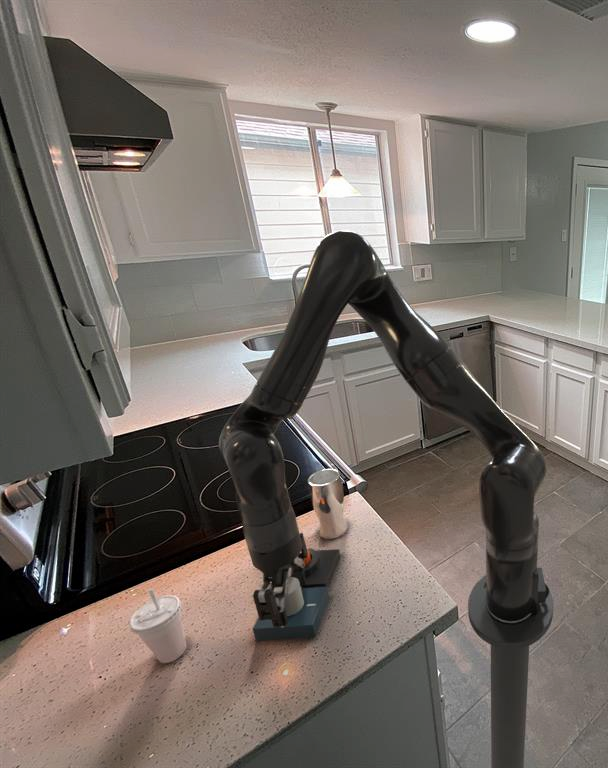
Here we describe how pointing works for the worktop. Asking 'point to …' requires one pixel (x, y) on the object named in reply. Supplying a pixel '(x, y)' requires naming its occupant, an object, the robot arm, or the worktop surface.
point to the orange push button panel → (320, 568)
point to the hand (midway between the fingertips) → (291, 603)
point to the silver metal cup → (328, 502)
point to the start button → (307, 559)
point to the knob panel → (297, 618)
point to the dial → (292, 597)
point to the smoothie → (160, 627)
